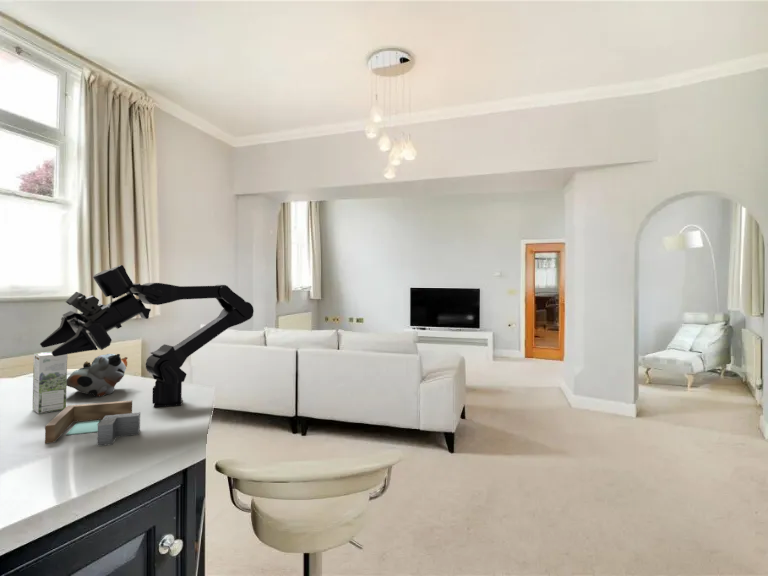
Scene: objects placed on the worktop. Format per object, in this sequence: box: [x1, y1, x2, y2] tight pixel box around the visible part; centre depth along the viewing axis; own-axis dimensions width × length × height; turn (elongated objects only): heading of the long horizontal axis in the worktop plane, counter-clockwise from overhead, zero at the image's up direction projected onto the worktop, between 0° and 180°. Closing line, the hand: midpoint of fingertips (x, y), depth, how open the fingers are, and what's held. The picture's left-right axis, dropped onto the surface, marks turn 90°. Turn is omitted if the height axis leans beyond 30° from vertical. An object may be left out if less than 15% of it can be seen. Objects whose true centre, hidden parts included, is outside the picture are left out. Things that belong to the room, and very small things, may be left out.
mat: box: [65, 419, 101, 436], centre depth 94 cm, size 9×8×1 cm
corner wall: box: [44, 399, 133, 444], centre depth 93 cm, size 13×16×4 cm
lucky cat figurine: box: [67, 353, 128, 398], centre depth 124 cm, size 15×12×14 cm
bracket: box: [97, 412, 141, 446], centre depth 87 cm, size 7×6×4 cm
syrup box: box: [32, 351, 68, 415], centre depth 106 cm, size 6×6×14 cm
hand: (46, 350), depth 94 cm, fingers open, 9 cm apart
